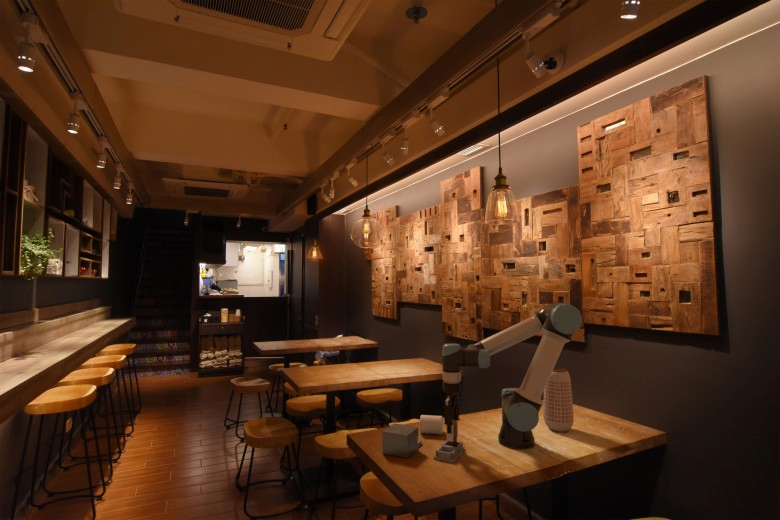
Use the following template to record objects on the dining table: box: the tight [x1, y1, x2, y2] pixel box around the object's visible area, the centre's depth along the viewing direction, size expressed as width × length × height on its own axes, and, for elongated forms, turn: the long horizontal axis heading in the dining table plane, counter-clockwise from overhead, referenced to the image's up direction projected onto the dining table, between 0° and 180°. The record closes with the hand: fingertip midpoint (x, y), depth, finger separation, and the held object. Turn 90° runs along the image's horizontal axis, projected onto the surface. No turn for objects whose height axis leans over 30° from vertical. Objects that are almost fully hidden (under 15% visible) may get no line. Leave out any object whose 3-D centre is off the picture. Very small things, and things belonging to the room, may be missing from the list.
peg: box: [448, 420, 458, 447], centre depth 175 cm, size 4×4×11 cm
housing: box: [381, 422, 419, 459], centre depth 174 cm, size 11×11×9 cm
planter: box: [543, 367, 575, 433], centre depth 202 cm, size 13×13×28 cm
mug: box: [419, 414, 444, 436], centre depth 198 cm, size 12×10×8 cm
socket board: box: [433, 439, 465, 464], centre depth 171 cm, size 8×15×3 cm, turn 154°
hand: (452, 438), depth 175 cm, fingers open, 5 cm apart
